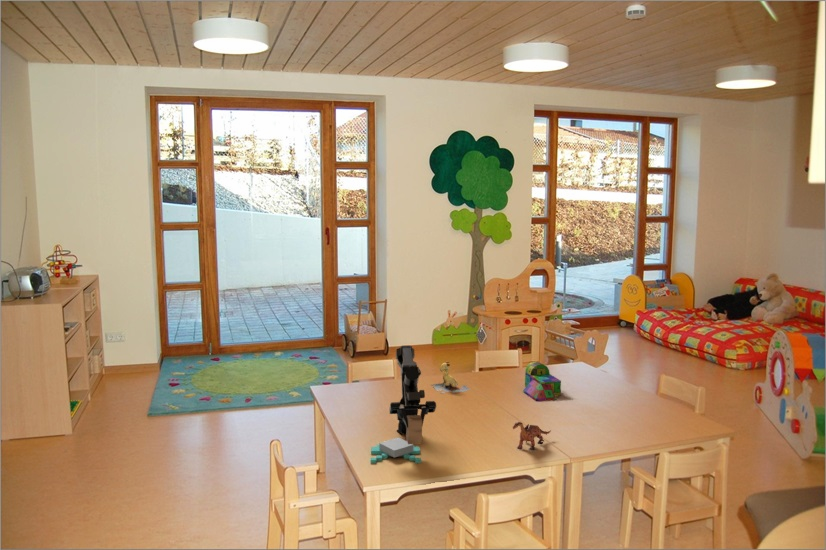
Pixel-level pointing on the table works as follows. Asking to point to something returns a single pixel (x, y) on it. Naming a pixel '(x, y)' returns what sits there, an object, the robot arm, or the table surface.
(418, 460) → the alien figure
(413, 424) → the walnut block
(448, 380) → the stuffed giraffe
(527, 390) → the block puzzle
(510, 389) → the table surface
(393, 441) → the slate block
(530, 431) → the brown animal figure
